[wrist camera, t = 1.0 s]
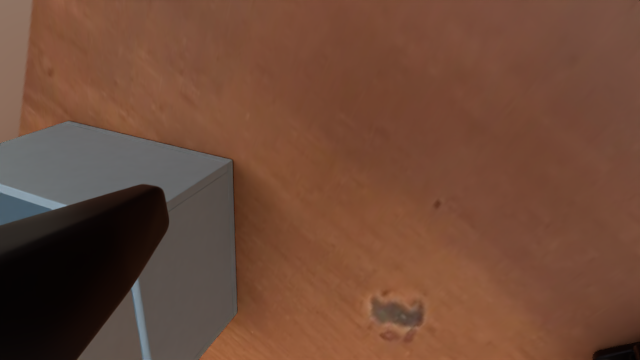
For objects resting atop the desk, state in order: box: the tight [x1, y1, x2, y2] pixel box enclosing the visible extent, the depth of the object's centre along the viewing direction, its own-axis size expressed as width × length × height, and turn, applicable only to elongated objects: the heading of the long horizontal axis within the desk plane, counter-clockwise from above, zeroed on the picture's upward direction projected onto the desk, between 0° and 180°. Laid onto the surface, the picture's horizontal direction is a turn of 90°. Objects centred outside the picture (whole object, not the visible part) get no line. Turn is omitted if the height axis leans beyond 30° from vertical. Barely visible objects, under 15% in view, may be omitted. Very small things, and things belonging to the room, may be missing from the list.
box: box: [0, 121, 237, 360], centre depth 25 cm, size 12×11×8 cm
